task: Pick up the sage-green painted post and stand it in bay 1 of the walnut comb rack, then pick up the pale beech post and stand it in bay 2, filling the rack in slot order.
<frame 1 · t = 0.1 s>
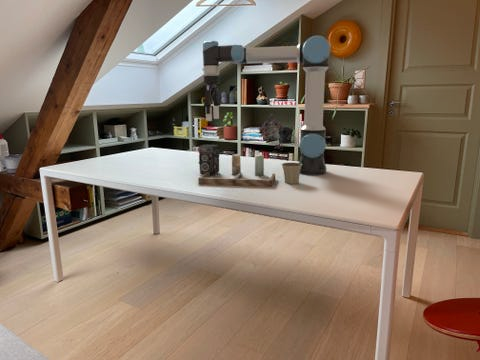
hand: (212, 119, 177), 28 cm above the table, fingers open, 13 cm apart
sage post: (259, 175, 182), on the table
flower pot: (291, 182, 166), on the table
beech post: (236, 174, 184), on the table
rack: (237, 182, 168), on the table
camera: (209, 174, 185), on the table
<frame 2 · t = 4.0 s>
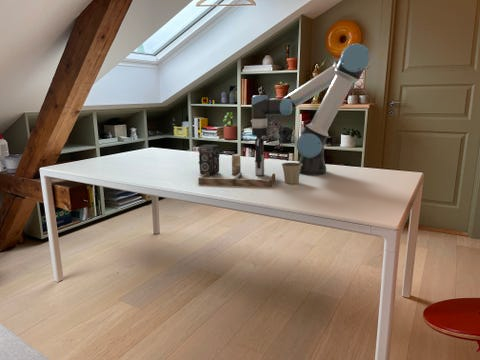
hand: (259, 173, 181), 1 cm above the table, fingers closed on sage post, 4 cm apart
sage post: (259, 174, 182), on the table, touching gripper
everything else where it was.
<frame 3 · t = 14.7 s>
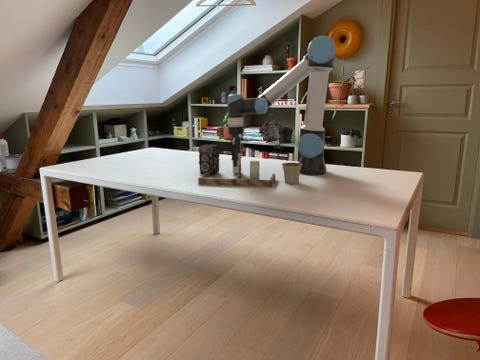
hand: (237, 171, 184), 1 cm above the table, fingers closed on beech post, 4 cm apart
sage post: (254, 182, 167), resting in rack
beech post: (237, 172, 184), point 1 cm above the table, touching gripper
everything else where it was.
when the fingers open (2 cm above the table, at t = 19.5 s): beech post drops 2 cm, resting in rack.
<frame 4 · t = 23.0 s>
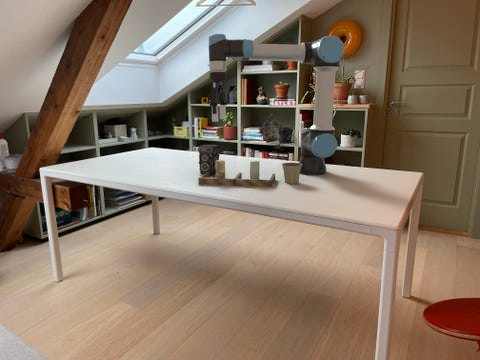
hand: (219, 120, 163), 29 cm above the table, fingers open, 13 cm apart
beech post: (220, 181, 170), resting in rack
everything else where it was.
at the end: sage post inside the target area on the rack (0.6 cm from its centre), point 0.0 cm above the rack's base; beech post inside the target area on the rack (0.7 cm from its centre), point 0.0 cm above the rack's base; sage post tilted 1° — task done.
